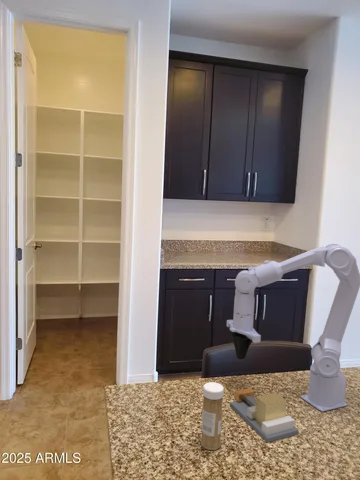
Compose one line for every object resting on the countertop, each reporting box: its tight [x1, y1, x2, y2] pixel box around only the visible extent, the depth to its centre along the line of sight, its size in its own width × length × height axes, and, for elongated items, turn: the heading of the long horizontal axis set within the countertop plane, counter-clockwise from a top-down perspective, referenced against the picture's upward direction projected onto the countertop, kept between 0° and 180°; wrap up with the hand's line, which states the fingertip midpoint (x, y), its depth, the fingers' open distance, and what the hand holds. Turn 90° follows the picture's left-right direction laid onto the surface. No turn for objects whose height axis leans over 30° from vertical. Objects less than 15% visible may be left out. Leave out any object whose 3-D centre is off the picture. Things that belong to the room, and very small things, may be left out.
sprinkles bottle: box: [200, 381, 225, 451], centre depth 79 cm, size 5×5×14 cm
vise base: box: [229, 396, 299, 443], centre depth 90 cm, size 9×16×3 cm, turn 24°
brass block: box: [254, 392, 287, 427], centre depth 87 cm, size 6×4×6 cm, turn 114°
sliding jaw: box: [234, 388, 256, 420], centre depth 93 cm, size 8×10×2 cm
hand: (240, 358), depth 104 cm, fingers closed
